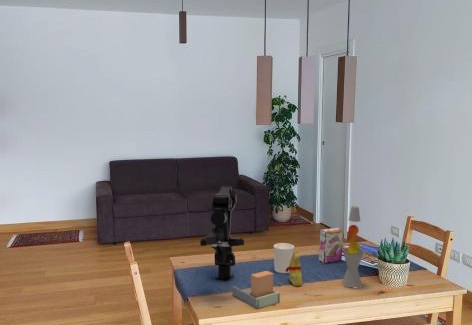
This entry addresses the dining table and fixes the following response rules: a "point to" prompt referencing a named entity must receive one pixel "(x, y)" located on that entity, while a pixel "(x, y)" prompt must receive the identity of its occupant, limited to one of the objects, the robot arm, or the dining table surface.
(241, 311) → the dining table surface
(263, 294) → the terracotta block
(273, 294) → the gray open tray
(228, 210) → the robot arm
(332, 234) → the candy bar box
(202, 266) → the dining table surface
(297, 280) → the chocolate bunny
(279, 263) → the white tapered cylinder
